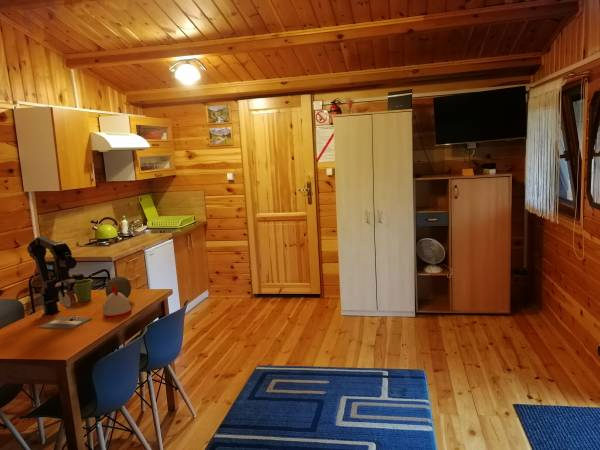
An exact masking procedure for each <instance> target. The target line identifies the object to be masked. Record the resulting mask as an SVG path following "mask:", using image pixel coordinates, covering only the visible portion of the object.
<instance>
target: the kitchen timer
mask: <svg viewBox="0 0 600 450" xmlns="http://www.w3.org/2000/svg"><path fill="white" fill-rule="evenodd" d="M111 290H112V293H111V294H110V295H109V296H108V297H107V296H106V297H107V298H106V300H105V301H104V302H103V303H102V314H103V315H102V316H103V318H104V319H118V318H123V317H127V316H128V315H130V314H131V313H132V307H131V302H130V300H129V299H128V298H126V297H125V296H124V295H123V294H121V293H119V292H117V289H116V287H115V286H112V288H111Z"/></svg>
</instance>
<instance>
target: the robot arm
mask: <svg viewBox="0 0 600 450" xmlns="http://www.w3.org/2000/svg"><path fill="white" fill-rule="evenodd" d="M26 247H27V248H26V250H27V253H28V254H29V257H30V258H31V259H33V260H34V261H35V265H36V269H37V272H38V276H39V279H40V283H41V286H42V287H41V289H40V296H39V299H38V304H39V305H41V306H43V312H44V313H42V316H53V315H57V314H58V313H60V312H61V310H59V306H58V302H59V296H58V293H59V292H60V293H61V295H62V297H63V298H64V290H65V289H64V285H63V284H62V283H66V286H67V290H68V291H71V292H73V290H74V289H73V286H74V284H75V283H76V282H75V281H79V280H85V279H86V278H85V275H84V274H83V273H80V272H76V273H73V274H72V275H71V276H70V272H69V271H71V270H72V269H74V268H76V266H77V263H78V261H77V260H76V259H75V257H73V256H72V255H73V253H72V250H71V248H70V247H69V246H68V244H67V243H66V242H65V241H55V240H53V239H51V238H48V237H47V236H45V235H42V236H37V237H35V238H34V239H33V240H32V241H30V243H28V245H27V246H26ZM47 249H48V250H49V253H50V254H52V259H53V260H54V266H55V269H54V272H53V271H51V272H49V269H48V265H47V260H46V254H47Z"/></svg>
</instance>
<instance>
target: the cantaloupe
mask: <svg viewBox="0 0 600 450" xmlns="http://www.w3.org/2000/svg"><path fill="white" fill-rule="evenodd" d="M131 285H132V284H131V282H130V281H129V279H128V278H127V277H125V276H114V277H112V278H110V279H109V280H108V281H107V283H106V286H105V294H106V297H108V296H109V295H110V294H111V293H112V290H111V288H112V286H115V287H116V289H117V292H119V293H121V294H123V295H124V296H125V297H126V298H127V299H128V298H129V297H130V295H131V293H132V286H131Z"/></svg>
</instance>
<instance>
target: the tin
mask: <svg viewBox="0 0 600 450" xmlns="http://www.w3.org/2000/svg"><path fill="white" fill-rule="evenodd" d="M58 296H59V301H58V302H59V304H60V305H61V306H62V307H64V308H67V309H73V308H75V307H76V306H77V297H76V294H75V293H74V292H73V291H72V292H71V291H68V289H64V298H63V297H62V295H61V293H60V292H59V293H58Z"/></svg>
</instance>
